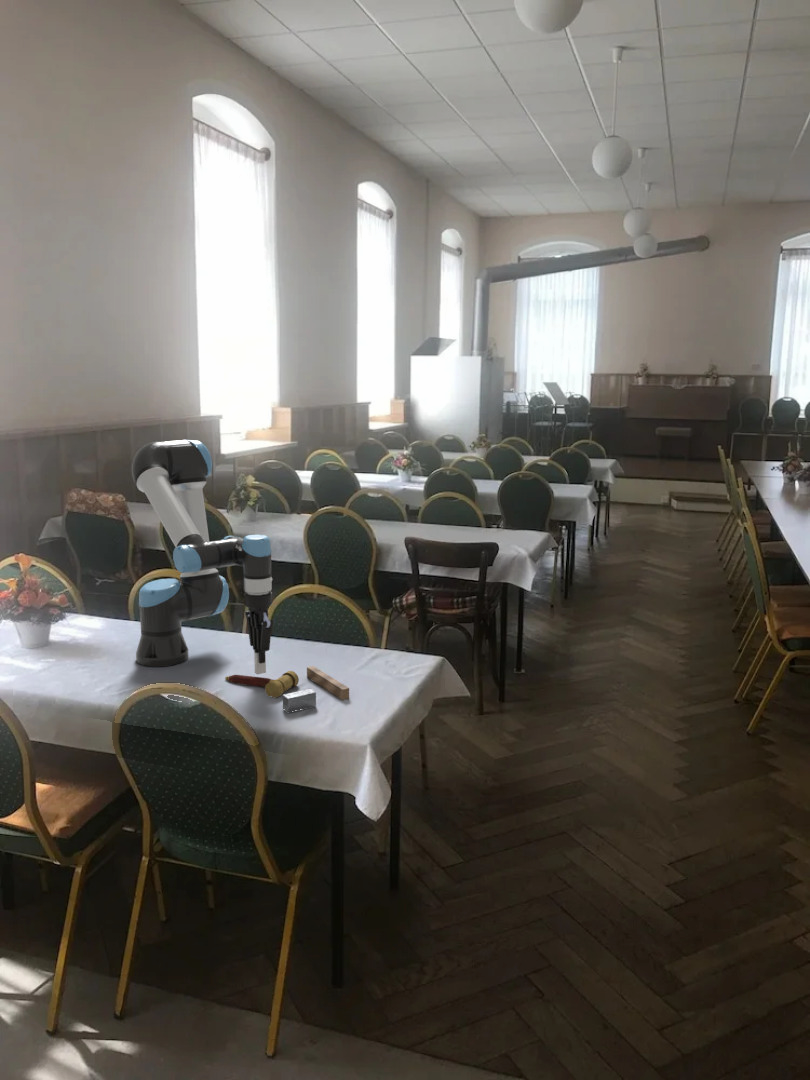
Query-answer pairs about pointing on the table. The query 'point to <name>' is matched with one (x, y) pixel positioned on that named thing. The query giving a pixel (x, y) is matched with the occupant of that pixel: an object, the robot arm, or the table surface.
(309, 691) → the block
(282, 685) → the gavel
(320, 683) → the walnut fence
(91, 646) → the table surface
